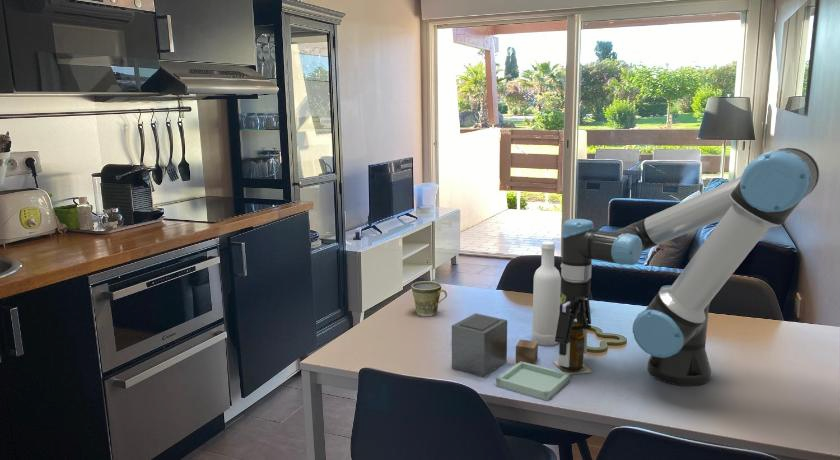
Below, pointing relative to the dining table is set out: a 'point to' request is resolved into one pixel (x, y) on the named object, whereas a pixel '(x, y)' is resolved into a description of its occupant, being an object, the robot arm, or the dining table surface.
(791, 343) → the dining table surface
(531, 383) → the tray
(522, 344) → the walnut block
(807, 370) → the dining table surface
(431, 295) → the ceramic cup
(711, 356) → the dining table surface
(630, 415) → the dining table surface
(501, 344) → the unit
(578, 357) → the condiment
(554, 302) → the bottle
